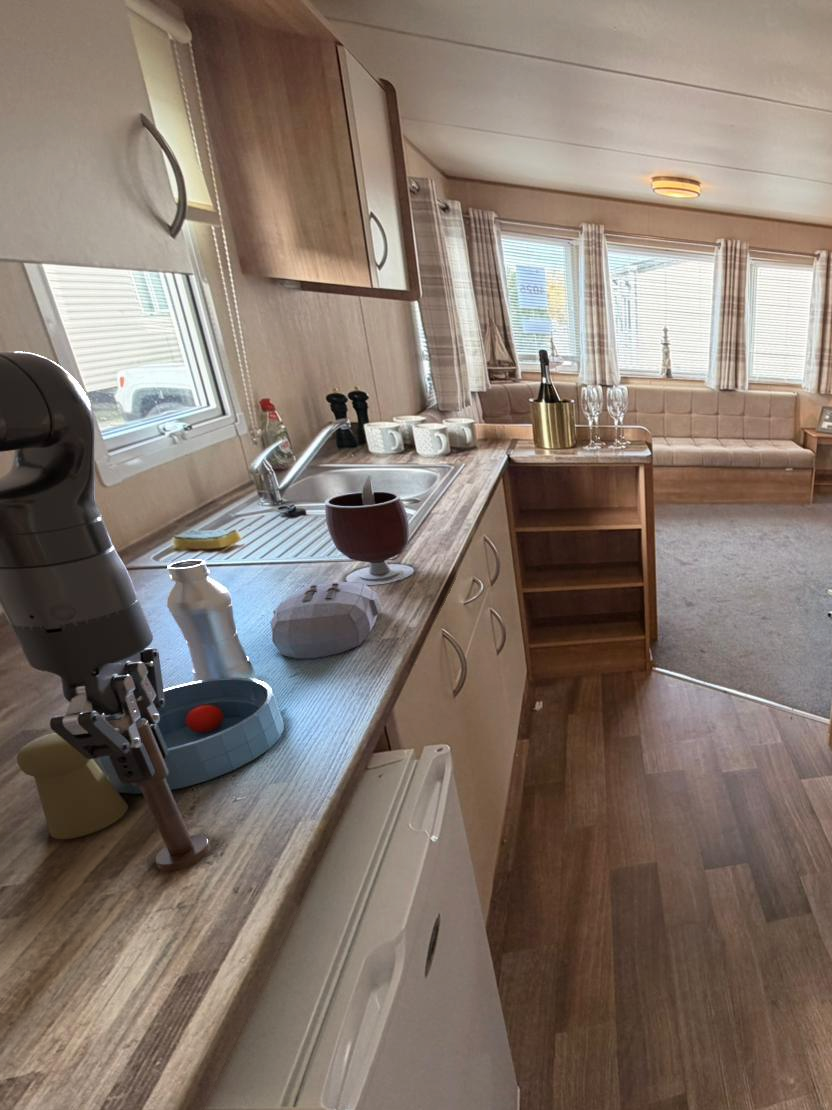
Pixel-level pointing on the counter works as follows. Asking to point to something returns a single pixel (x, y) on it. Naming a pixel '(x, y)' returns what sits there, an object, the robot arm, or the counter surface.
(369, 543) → the mate gourd
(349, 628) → the grey rounded bag
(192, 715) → the tomato
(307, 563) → the counter surface
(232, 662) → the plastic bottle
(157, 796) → the wooden peg stand
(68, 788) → the cork
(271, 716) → the bowl
